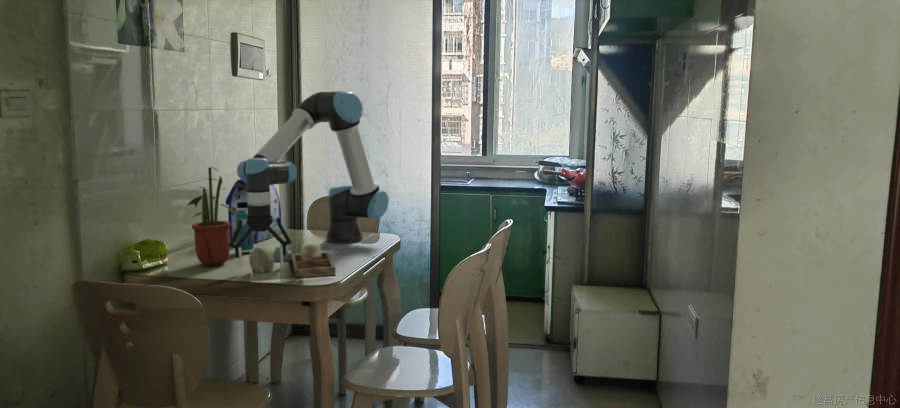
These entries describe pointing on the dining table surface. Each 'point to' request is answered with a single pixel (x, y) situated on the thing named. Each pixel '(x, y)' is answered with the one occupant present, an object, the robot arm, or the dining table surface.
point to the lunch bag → (240, 195)
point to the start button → (279, 249)
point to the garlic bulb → (261, 260)
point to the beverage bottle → (243, 227)
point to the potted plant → (211, 229)
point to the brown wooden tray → (313, 266)
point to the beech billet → (310, 252)
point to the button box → (285, 257)
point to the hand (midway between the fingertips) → (261, 265)
